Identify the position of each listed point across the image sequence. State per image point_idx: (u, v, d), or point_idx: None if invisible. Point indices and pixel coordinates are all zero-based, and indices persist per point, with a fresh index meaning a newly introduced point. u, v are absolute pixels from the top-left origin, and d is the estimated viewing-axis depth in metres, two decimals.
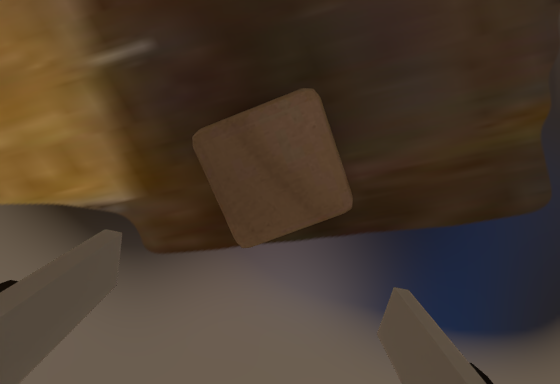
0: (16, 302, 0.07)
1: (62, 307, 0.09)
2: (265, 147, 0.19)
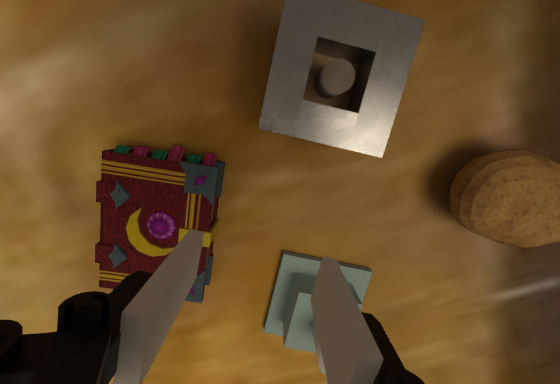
0: (164, 286, 0.09)
1: (178, 292, 0.11)
2: None
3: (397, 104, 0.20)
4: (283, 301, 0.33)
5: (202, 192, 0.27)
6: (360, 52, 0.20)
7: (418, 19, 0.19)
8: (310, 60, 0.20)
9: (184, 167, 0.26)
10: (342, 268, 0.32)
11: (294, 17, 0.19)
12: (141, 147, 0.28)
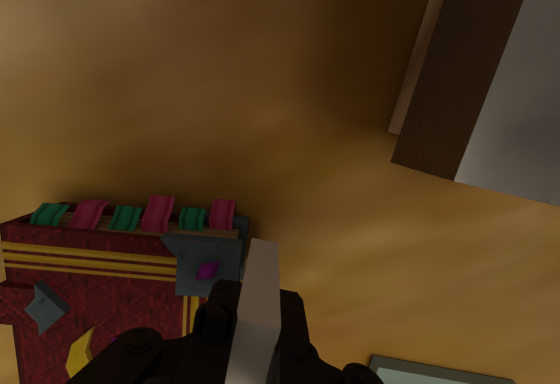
0: (257, 294, 0.10)
1: None
2: None
3: None
4: None
5: None
6: None
7: None
8: None
9: (173, 247, 0.13)
10: None
11: None
12: (91, 203, 0.15)
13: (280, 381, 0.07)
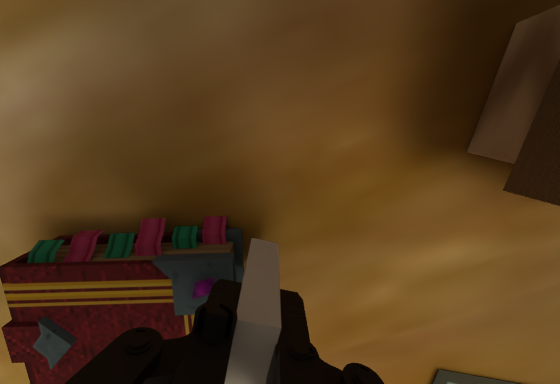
0: (257, 294, 0.10)
1: None
2: None
3: None
4: None
5: None
6: None
7: None
8: None
9: (166, 269, 0.13)
10: None
11: None
12: (85, 235, 0.15)
13: (280, 381, 0.07)
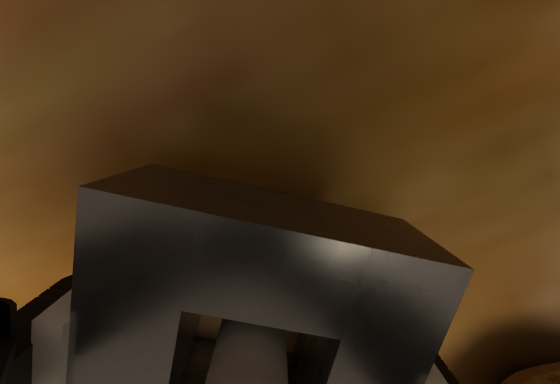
0: None
1: None
2: None
3: None
4: None
5: None
6: None
7: (452, 263, 0.07)
8: (168, 361, 0.07)
9: None
10: None
11: (110, 270, 0.07)
12: None
13: None
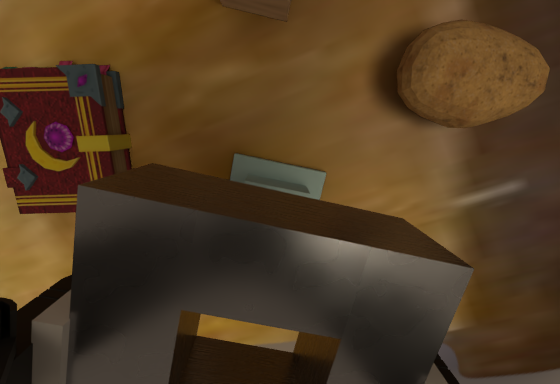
0: None
1: None
2: None
3: None
4: None
5: (88, 94, 0.27)
6: None
7: (452, 261, 0.07)
8: (168, 360, 0.07)
9: (63, 70, 0.26)
10: (295, 169, 0.32)
11: (110, 269, 0.07)
12: (29, 67, 0.28)
13: None
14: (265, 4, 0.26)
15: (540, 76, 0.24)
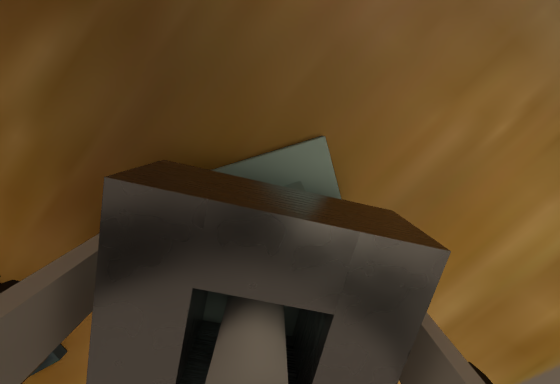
0: (18, 301, 0.07)
1: (64, 307, 0.09)
2: None
3: None
4: None
5: None
6: None
7: (432, 245, 0.08)
8: (181, 333, 0.08)
9: None
10: (263, 161, 0.15)
11: (130, 251, 0.08)
12: None
13: None
14: None
15: None
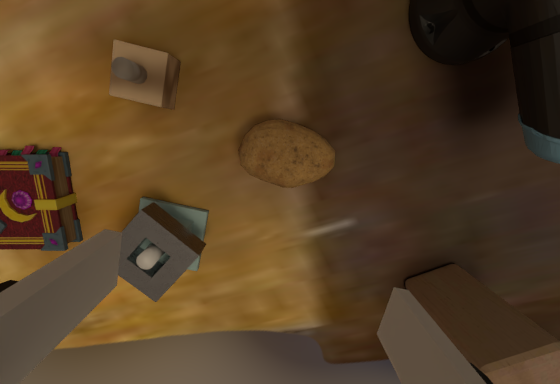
0: (16, 302, 0.07)
1: (62, 307, 0.09)
2: (532, 380, 0.31)
3: (172, 283, 0.39)
4: None
5: (42, 173, 0.40)
6: None
7: (196, 253, 0.38)
8: (137, 245, 0.38)
9: (25, 157, 0.39)
10: (185, 209, 0.45)
11: (137, 224, 0.37)
12: (3, 150, 0.41)
13: None
14: None
15: (322, 160, 0.37)
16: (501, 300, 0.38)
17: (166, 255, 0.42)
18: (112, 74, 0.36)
